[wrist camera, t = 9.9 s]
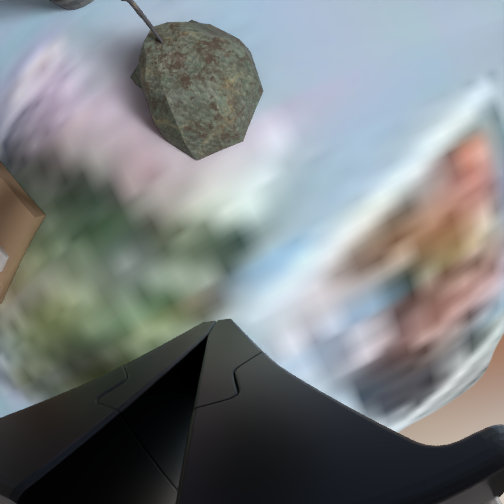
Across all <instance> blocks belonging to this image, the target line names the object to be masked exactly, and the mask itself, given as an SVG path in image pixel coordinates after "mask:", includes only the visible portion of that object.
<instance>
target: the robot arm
mask: <svg viewBox="0 0 504 504" xmlns="http://www.w3.org/2000/svg"><path fill="white" fill-rule="evenodd" d="M503 493H504V425H494V426H490V427H487V428H485V429H483V430H481V431H478V432H476V433H474V434H472V435H470V436H468V437H466V438H464V439H462V440H460V441H457V442H454V443H451V444H448V445H440V446H431V445H425V444H421V443H418V442H416V441H414V440H411V439H409V438H407V437H405V436H403V435H401V434H399V433H397V432H395V431H393V430H391V429H389V428H387V427H385V426H383V425H381V424H379V423H377V422H376V421H374V420H372V419H370V418H368V417H366V416H364V415H362V414H360V413H359V412H357V411H355V410H353V409H351V408H349V407H348V406H346V405H344V404H342V403H340V402H339V401H337V400H335V399H333V398H332V397H330V396H328V395H326V394H325V393H323V392H321V391H319V390H318V389H316V388H314V387H313V386H311V385H309V384H307V383H306V382H304V381H302V380H301V379H299V378H297V377H296V376H294V375H292V374H291V373H289V372H288V371H286V370H285V369H283V368H282V367H280V366H279V365H278V364H276V363H275V362H274V361H273V360H272V359H271V358H270V357H269V356H268V355H267V354H266V353H264V352H263V351H262V350H261V349H260V348H259V347H258V346H257V345H256V344H255V343H254V342H253V341H252V340H251V339H250V338H249V337H248V336H247V335H246V334H245V333H244V332H243V331H242V330H241V329H240V328H239V327H238V326H237V325H236V324H235V323H234V322H233V320H231V319H224V320H218V321H217V322H216V321H209V322H203V323H201V324H199V325H198V326H196V327H194V328H192V329H190V330H189V331H187V332H185V333H183V334H181V335H179V336H178V337H176V338H174V339H172V340H170V341H168V342H167V343H165V344H163V345H161V346H159V347H157V348H156V349H154V350H152V351H150V352H148V353H146V354H144V355H142V356H141V357H139V358H137V359H135V360H133V361H131V362H129V363H127V364H125V365H124V367H123V366H120V367H119V368H117V369H115V370H113V371H111V372H109V373H107V374H105V375H103V376H101V377H99V378H97V379H94V380H92V381H90V382H88V383H85V384H83V385H81V386H79V387H76V388H74V389H72V390H69V391H67V392H65V393H62V394H60V395H57V396H55V397H52V398H50V399H48V400H45V401H43V402H40V403H38V404H35V405H33V406H30V407H27V408H25V409H22V410H20V411H17V412H15V413H12V414H9V415H7V416H4V417H1V418H0V504H502V503H501V501H500V499H499V497H500V496H501V495H502V494H503Z"/></svg>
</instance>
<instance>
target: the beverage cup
mask: <svg viewBox="0 0 504 504" xmlns="http://www.w3.org/2000/svg"><path fill="white" fill-rule="evenodd" d="M50 1H52V2H53V3H56V4H58V5H59V6H62V7H63V8H64V9H67V10H75V9H78V8H81V7H84V6H85V5H87V4H89V3H91V2H92V1H93V0H50Z"/></svg>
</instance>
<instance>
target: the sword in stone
mask: <svg viewBox="0 0 504 504" xmlns="http://www.w3.org/2000/svg"><path fill="white" fill-rule="evenodd" d="M121 1H127V2H128V3H129V4H130V5H131V6H132V7H133V9H134V10H135V11H136V13H137V14H138V15H139V16H140V18H142V19H143V20H144V22H145V23H146V24H147V26H148V27H149V28H150V32H149V34H148V36H147V38H146V39H145V41H144V43H143V47H142V50H141V54H140V57H139V65H138V66H137V68H136V69H135V71H134V72H133V74H132V75H131V79H132V80H133V81H134V82H135V84H136V85H138V86H139V87H141V88H142V89H143V92H144V95H145V98H146V101H147V104H148V107H149V109H150V112H151V115H152V118H153V121H154V124H155V125H156V127H157V128H158V130H159V131H160V132H161V134H162V135H163V137H164V138H165V140H167V141H168V142H169V143H171V144H172V145H174V146H175V147H177V148H178V149H180V150H182V151H183V152H185V153H186V154H188V155H189V156H191V157H193V158H194V159H196V160H200V159H202V158H204V157H206V156H209V155H211V154H213V153H215V152H218V151H220V150H223V149H225V148H227V147H230V146H232V145H235V144H237V143H240V142H242V141H243V140H244V137H245V135H246V132H247V129H248V126H249V124H250V121H251V119H252V117H253V114H254V112H255V109H256V107H257V105H258V102H259V100H260V98H261V95H262V93H263V89H262V85H261V82H260V79H259V76H258V73H257V70H256V67H255V64H254V61H253V58H252V55H251V52H250V51H249V49H248V48H247V47H246V46H245V45H244V44H243V43H242V42H241V41H240V40H239V39H238V38H236V37H234V36H232V35H230V34H228V33H226V32H224V31H222V30H220V29H218V28H216V27H214V26H212V25H210V24H202V23H198V22H196V21H193V20H191V21H189V22H167V23H164V24H161V25H158V26H155V27H153V26H152V24H151V23H150V21H149V20H148V19H147V17H146V16H145V15H144V14H143V12H142V11H141V9H140V8H139V7H138V6H137V4H136V3H135V2H134V1H133V0H121Z"/></svg>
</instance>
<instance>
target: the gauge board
mask: <svg viewBox="0 0 504 504" xmlns="http://www.w3.org/2000/svg"><path fill="white" fill-rule="evenodd" d="M45 216H46V215H45V214H44V213H43V211H42V210H41V209H40V208H39V207H38V206H37V205H36V204H35V202H34V201H33V200H32V199H31V198H30V197H29V196H28V194H27V193H26V192H25V191H24V190H23V188H22V187H21V186H20V185H19V184H18V182H17V181H16V180H15V179H14V178H13V176H12V175H11V174H10V173H9V171H8V170H7V169H6V168H5V166H4V165H3V164H2V162H1V161H0V304H1V303H2V302H3V299H4V297H5V295H6V292H7V290H8V288H9V286H10V283H11V281H12V279H13V277H14V275H15V272H16V270H17V268H18V266H19V264H20V262H21V260H22V258H23V256H24V254H25V252H26V250H27V248H28V247H29V245H30V243H31V241H32V239H33V237H34V235H35V234H36V232H37V230H38V228H39V226H40V225H41V223H42V221H43V220H44V218H45Z"/></svg>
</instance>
